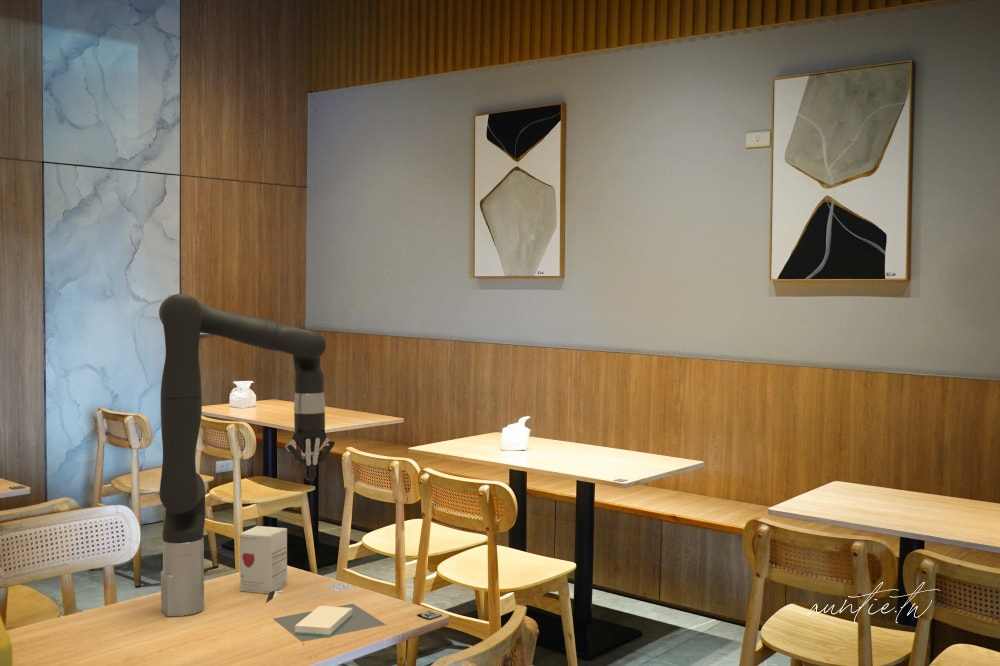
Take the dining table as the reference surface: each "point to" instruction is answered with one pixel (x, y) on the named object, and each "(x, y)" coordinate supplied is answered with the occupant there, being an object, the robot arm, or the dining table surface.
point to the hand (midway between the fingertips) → (310, 479)
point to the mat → (355, 623)
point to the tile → (323, 621)
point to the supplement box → (263, 559)
